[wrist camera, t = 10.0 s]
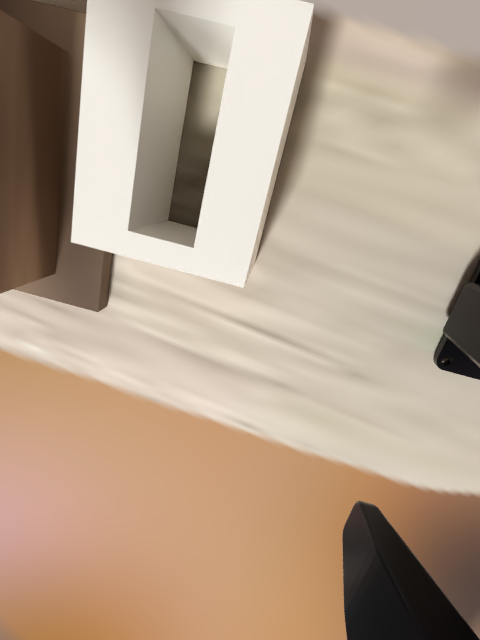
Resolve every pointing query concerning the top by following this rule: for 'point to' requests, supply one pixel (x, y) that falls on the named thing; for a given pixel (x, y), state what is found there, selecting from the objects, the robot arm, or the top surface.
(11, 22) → the channel mount plate
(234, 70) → the holder
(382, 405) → the top surface
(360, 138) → the top surface
